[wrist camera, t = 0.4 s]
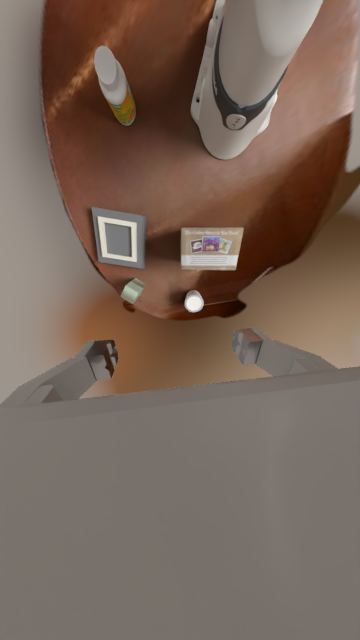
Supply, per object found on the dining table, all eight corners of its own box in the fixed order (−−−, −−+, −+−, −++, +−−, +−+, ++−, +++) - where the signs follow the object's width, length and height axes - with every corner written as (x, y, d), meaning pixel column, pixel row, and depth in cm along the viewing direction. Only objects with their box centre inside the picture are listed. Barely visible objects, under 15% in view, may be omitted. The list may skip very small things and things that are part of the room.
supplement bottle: (120, 130, 35) (100, 96, 27) (109, 96, 33) (83, 47, 24) (140, 120, 35) (125, 82, 26) (130, 85, 32) (110, 29, 24)
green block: (135, 277, 54) (125, 285, 45) (146, 284, 55) (138, 293, 46) (130, 287, 55) (120, 296, 47) (140, 294, 57) (132, 303, 48)
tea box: (180, 262, 50) (179, 270, 38) (181, 229, 45) (179, 225, 33) (223, 263, 50) (236, 271, 37) (227, 229, 45) (245, 225, 32)
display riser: (97, 208, 43) (89, 205, 40) (145, 217, 44) (142, 215, 40) (103, 260, 51) (96, 262, 47) (144, 267, 51) (141, 269, 48)
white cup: (183, 304, 58) (183, 311, 52) (185, 287, 55) (185, 293, 49) (200, 305, 58) (202, 313, 52) (202, 289, 55) (205, 295, 49)
